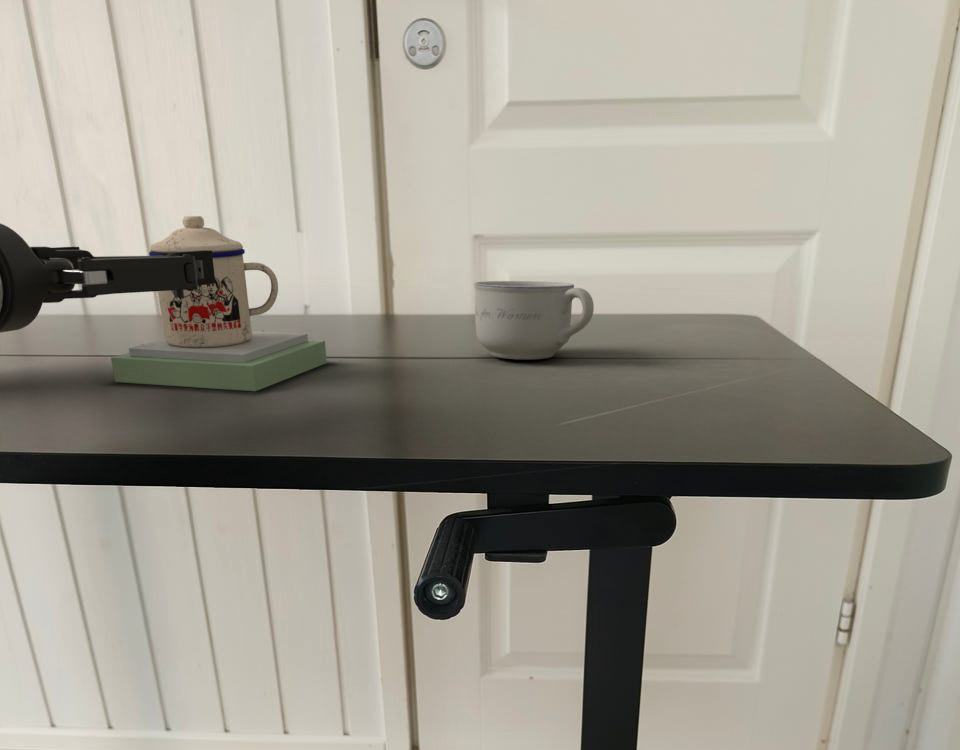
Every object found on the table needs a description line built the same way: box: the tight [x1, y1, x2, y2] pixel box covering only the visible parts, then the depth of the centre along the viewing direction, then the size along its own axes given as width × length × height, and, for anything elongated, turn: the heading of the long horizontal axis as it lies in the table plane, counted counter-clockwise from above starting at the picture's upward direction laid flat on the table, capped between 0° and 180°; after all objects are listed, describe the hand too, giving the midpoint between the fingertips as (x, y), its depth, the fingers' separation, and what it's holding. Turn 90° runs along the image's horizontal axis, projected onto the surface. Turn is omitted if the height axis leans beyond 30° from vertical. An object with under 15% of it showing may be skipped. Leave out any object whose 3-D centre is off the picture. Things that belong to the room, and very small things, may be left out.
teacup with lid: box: [148, 215, 279, 348], centre depth 91 cm, size 12×9×12 cm
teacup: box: [473, 280, 595, 361], centre depth 99 cm, size 14×11×8 cm
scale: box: [110, 330, 328, 392], centre depth 95 cm, size 16×15×3 cm
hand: (143, 264), depth 82 cm, fingers open, 13 cm apart
